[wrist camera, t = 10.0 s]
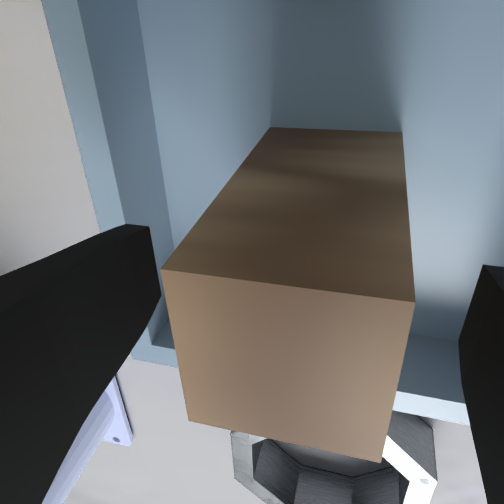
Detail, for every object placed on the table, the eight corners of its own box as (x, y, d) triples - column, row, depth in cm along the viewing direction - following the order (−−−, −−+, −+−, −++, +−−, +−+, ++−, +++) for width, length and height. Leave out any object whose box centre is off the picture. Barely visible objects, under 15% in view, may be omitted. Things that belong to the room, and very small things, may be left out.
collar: (248, 462, 25) (236, 505, 23) (242, 354, 20) (226, 396, 18) (409, 501, 23) (410, 552, 21) (445, 391, 18) (452, 443, 16)
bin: (169, 303, 20) (132, 358, 17) (104, -73, 12) (19, -86, 9) (500, 357, 17) (522, 435, 14) (690, -112, 9) (829, -150, 6)
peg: (271, 235, 16) (188, 421, 9) (269, 127, 14) (160, 268, 7) (384, 247, 15) (380, 463, 8) (402, 132, 13) (415, 303, 6)
